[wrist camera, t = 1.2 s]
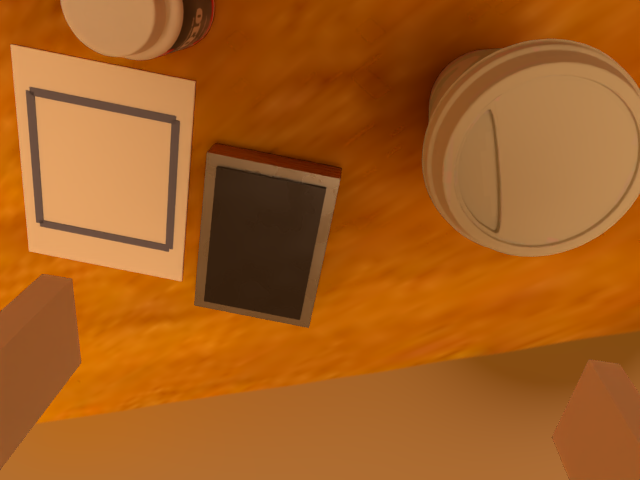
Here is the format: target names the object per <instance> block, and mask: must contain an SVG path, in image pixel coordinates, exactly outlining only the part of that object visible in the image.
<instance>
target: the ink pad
mask: <svg viewBox="0 0 640 480" xmlns="http://www.w3.org/2000/svg"><path fill="white" fill-rule="evenodd" d="M341 171H342V168H338V167H333V166H328V165H323V164H318V163H313V162H308V161H303V160H298V159H293V158H288V157H283V156H278V155H273V154H268V153H263V152H258V151H253V150H248V149H243V148H238V147H233V146H228V145H223V144H218V143H215V144H214V145H213V147H212V148H211V149H210V150H209V151H208V152H207V158H206V170H205V182H204V194H203V206H202V218H201V230H200V242H199V254H198V266H197V279H196V291H195V303H194V305H195V306H200V307H206V308H211V309H216V310H221V311H226V312H231V313H236V314H241V315H246V316H251V317H256V318H261V319H266V320H272V321H277V322H282V323H287V324H292V325H297V326H302V327H307V328H309V325H310V320H311V315H312V311H313V306H314V301H315V297H316V292H317V287H318V282H319V278H320V273H321V268H322V264H323V259H324V254H325V249H326V245H327V240H328V235H329V231H330V226H331V221H332V216H333V212H334V207H335V202H336V198H337V193H338V188H339V183H340V178H341Z"/></svg>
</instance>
